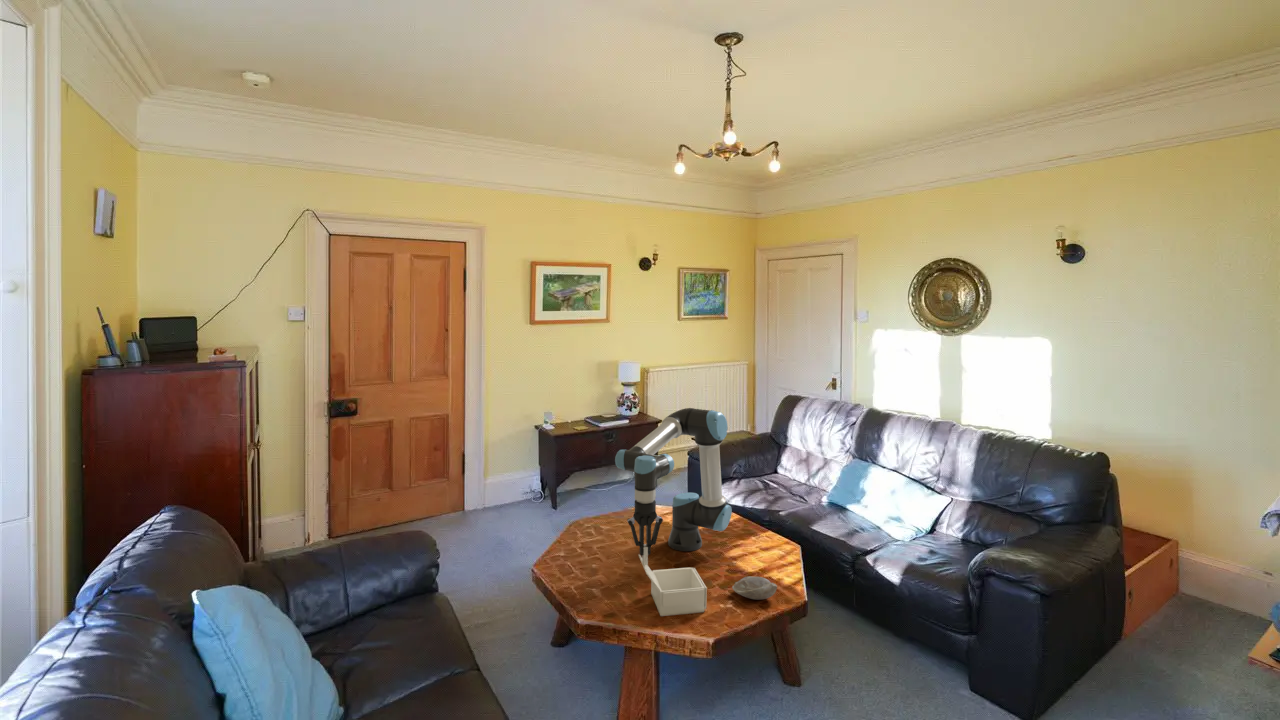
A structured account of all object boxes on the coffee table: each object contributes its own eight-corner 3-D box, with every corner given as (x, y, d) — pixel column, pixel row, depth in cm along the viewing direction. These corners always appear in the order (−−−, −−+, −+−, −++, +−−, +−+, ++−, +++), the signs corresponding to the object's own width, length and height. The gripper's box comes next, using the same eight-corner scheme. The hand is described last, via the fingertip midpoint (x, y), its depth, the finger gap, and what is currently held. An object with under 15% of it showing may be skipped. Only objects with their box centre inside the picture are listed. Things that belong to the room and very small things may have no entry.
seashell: (726, 581, 225) (755, 570, 216) (746, 579, 233) (775, 568, 224) (733, 607, 221) (763, 596, 212) (754, 604, 228) (783, 593, 219)
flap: (639, 554, 222) (638, 554, 222) (647, 573, 207) (646, 573, 207) (651, 569, 224) (650, 570, 224) (660, 590, 208) (659, 590, 208)
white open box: (693, 588, 229) (694, 566, 228) (707, 612, 212) (707, 588, 211) (650, 592, 226) (651, 570, 225) (660, 617, 209) (661, 592, 208)
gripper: (660, 495, 217) (660, 557, 220) (625, 497, 214) (625, 560, 217) (665, 502, 210) (665, 566, 212) (628, 504, 207) (629, 569, 210)
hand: (645, 563), depth 215 cm, fingers closed
